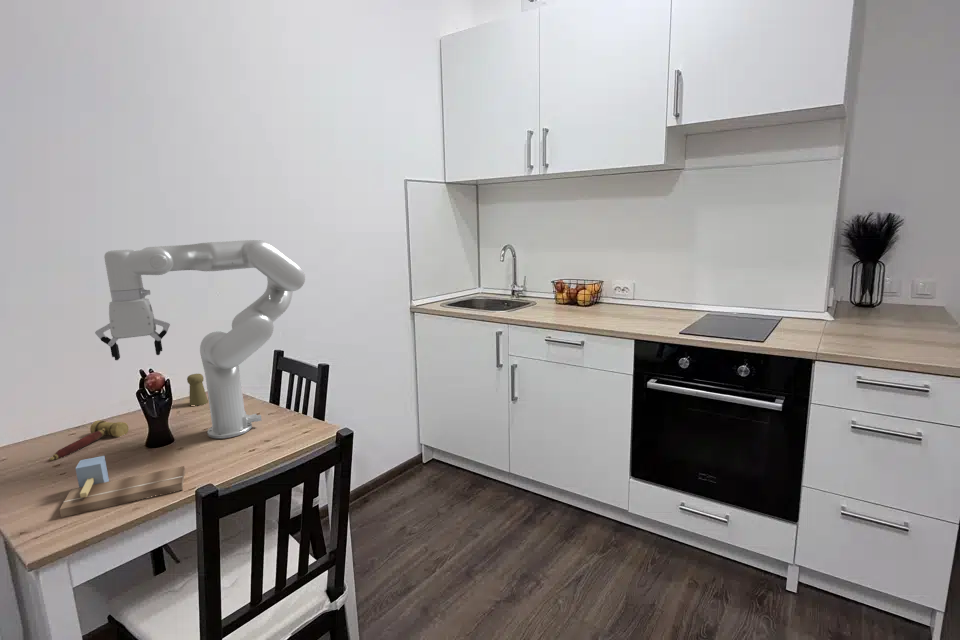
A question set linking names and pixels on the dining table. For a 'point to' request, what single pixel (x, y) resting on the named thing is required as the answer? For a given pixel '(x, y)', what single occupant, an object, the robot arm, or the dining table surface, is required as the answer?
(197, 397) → the cork
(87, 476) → the blue block with stick
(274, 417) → the dining table surface
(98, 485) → the board
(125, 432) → the gavel
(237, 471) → the dining table surface
